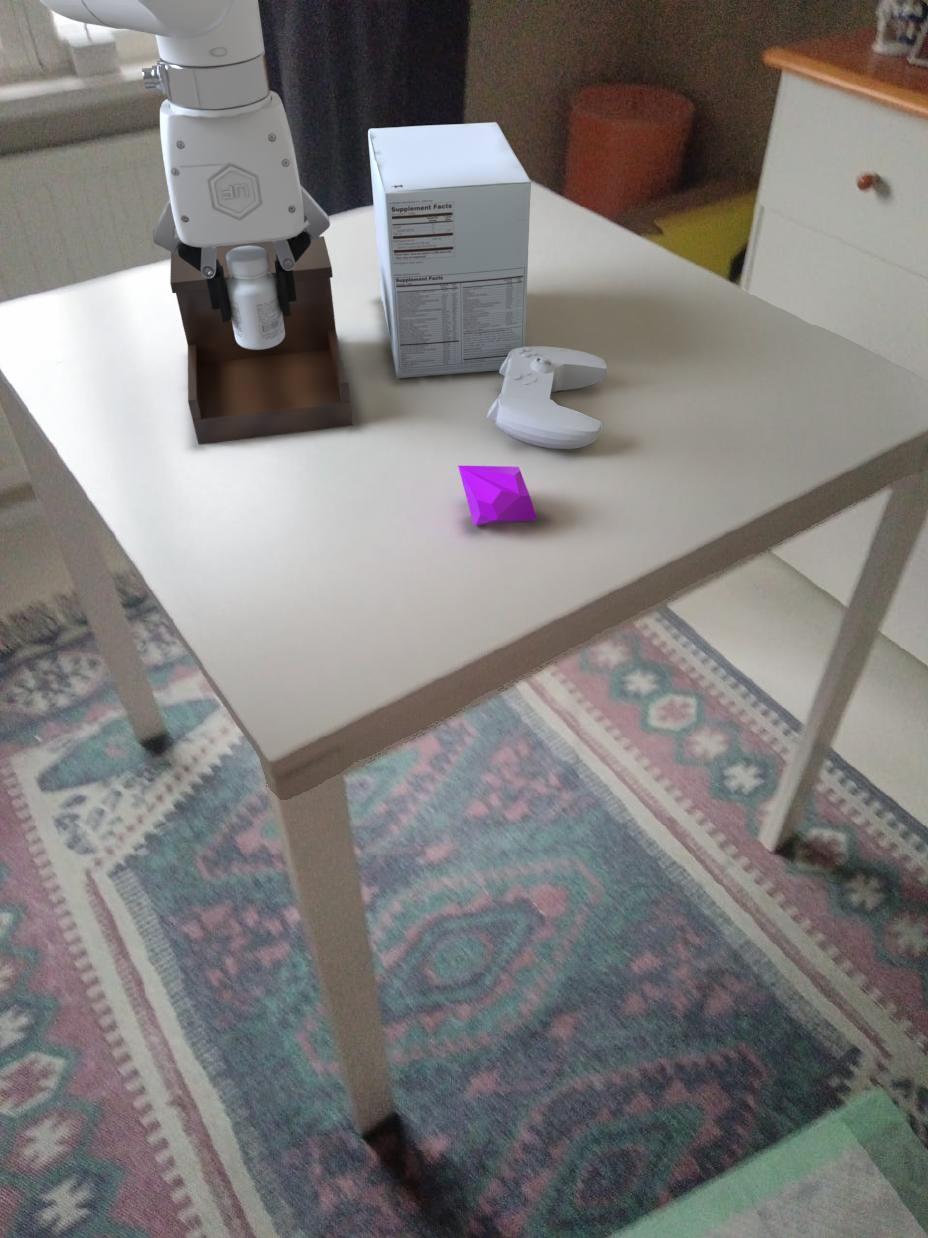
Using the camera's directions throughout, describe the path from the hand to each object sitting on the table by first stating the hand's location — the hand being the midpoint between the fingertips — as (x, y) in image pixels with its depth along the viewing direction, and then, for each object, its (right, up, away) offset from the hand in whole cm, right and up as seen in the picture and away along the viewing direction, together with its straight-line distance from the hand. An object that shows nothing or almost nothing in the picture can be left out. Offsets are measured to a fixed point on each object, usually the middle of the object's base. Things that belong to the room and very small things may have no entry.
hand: (256, 309), depth 85 cm
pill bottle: (0, -2, +2) cm, 3 cm away
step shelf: (-1, -5, +10) cm, 11 cm away
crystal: (+21, -18, -5) cm, 28 cm away
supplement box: (+16, +3, +18) cm, 24 cm away
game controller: (+26, -8, +6) cm, 28 cm away
